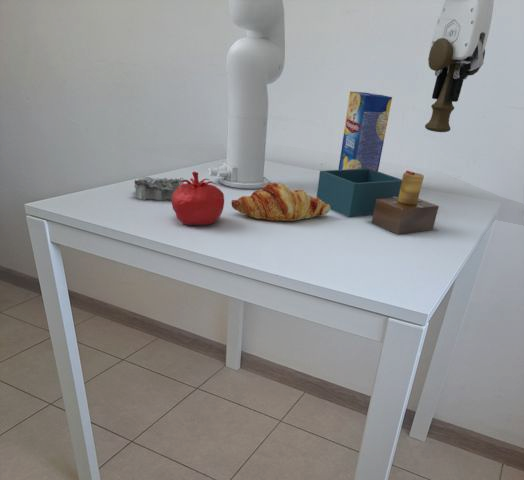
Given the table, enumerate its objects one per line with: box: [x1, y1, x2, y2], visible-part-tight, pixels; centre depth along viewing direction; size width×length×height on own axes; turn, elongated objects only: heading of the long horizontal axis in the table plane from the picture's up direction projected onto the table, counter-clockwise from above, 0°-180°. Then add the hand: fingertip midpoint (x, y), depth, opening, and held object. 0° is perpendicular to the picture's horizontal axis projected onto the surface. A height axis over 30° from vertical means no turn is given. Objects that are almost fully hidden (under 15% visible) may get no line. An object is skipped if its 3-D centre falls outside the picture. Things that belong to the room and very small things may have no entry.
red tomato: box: [171, 171, 225, 226], centre depth 92 cm, size 10×10×9 cm
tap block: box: [371, 196, 440, 235], centre depth 101 cm, size 10×8×5 cm
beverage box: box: [337, 91, 393, 172], centre depth 126 cm, size 7×11×22 cm, turn 11°
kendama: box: [424, 38, 486, 133], centre depth 97 cm, size 6×10×20 cm, turn 110°
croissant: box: [230, 182, 331, 222], centre depth 100 cm, size 21×10×8 cm, turn 103°
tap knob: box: [398, 170, 425, 205], centre depth 98 cm, size 4×4×6 cm
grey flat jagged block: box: [134, 176, 184, 201], centre depth 107 cm, size 11×8×4 cm
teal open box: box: [316, 168, 402, 218], centre depth 111 cm, size 15×13×7 cm
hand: (444, 99), depth 99 cm, fingers closed on kendama, 2 cm apart
